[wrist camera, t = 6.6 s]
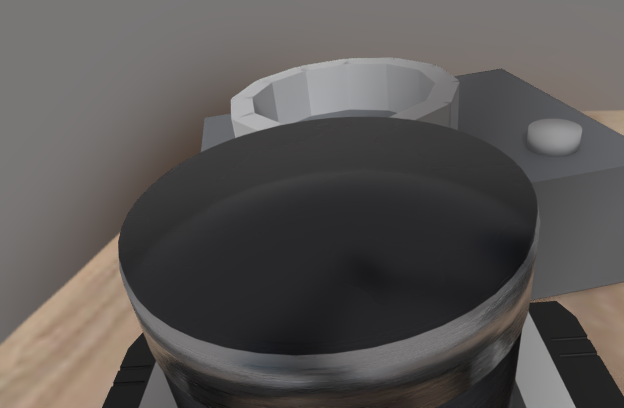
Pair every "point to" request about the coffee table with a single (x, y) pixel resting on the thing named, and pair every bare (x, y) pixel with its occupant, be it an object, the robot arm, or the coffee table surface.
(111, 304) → the coffee table surface
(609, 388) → the robot arm
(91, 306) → the coffee table surface
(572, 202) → the camera body
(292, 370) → the lens
